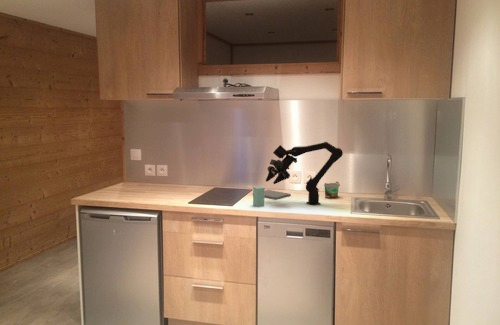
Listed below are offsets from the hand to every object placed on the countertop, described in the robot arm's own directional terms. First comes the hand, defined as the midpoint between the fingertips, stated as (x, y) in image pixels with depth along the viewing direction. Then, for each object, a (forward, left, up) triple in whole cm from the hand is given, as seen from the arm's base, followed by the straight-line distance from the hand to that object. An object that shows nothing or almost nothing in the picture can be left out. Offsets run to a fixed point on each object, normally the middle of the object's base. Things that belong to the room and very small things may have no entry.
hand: (269, 182), depth 230 cm
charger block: (0, +8, -14) cm, 16 cm away
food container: (-2, -47, -14) cm, 49 cm away
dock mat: (+21, -13, -14) cm, 28 cm away
